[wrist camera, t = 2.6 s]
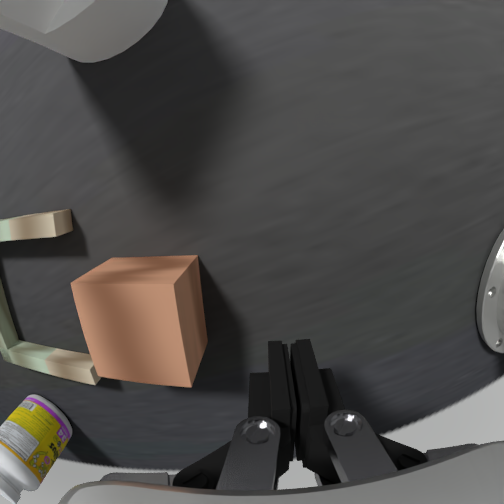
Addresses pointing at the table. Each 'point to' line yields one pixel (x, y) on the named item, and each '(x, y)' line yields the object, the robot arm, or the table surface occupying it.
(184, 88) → the table surface
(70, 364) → the walled lane
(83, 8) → the base with upright slab
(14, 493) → the supplement bottle
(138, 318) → the terracotta block
